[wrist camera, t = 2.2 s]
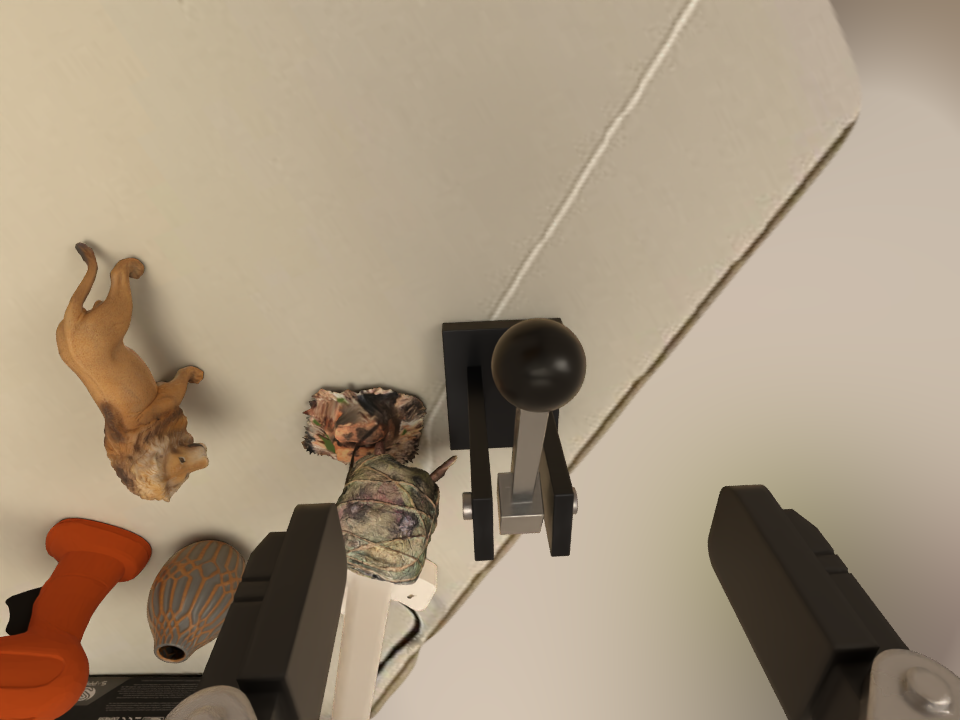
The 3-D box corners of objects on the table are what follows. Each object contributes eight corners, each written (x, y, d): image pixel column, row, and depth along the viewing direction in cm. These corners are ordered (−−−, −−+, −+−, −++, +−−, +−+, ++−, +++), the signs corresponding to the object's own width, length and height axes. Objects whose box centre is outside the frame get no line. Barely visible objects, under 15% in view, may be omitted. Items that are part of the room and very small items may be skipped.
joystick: (443, 558, 49) (437, 843, 31) (413, 609, 52) (393, 893, 35) (319, 525, 46) (238, 816, 29) (296, 582, 49) (211, 873, 32)
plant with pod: (426, 489, 45) (410, 773, 27) (289, 441, 42) (173, 726, 24) (472, 414, 41) (486, 686, 24) (325, 357, 38) (220, 619, 21)
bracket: (442, 322, 37) (436, 455, 25) (560, 317, 37) (610, 447, 25) (450, 440, 42) (449, 597, 30) (554, 435, 42) (594, 589, 30)
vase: (212, 592, 50) (168, 691, 42) (155, 546, 47) (97, 644, 39) (274, 565, 48) (240, 663, 41) (220, 516, 45) (173, 612, 38)
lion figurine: (252, 411, 40) (203, 500, 32) (188, 433, 41) (126, 526, 33) (119, 225, 33) (16, 282, 25) (45, 255, 34) (-77, 319, 26)
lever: (489, 300, 18) (495, 381, 17) (584, 296, 18) (601, 376, 17) (487, 486, 31) (490, 543, 30) (543, 483, 32) (550, 540, 30)
